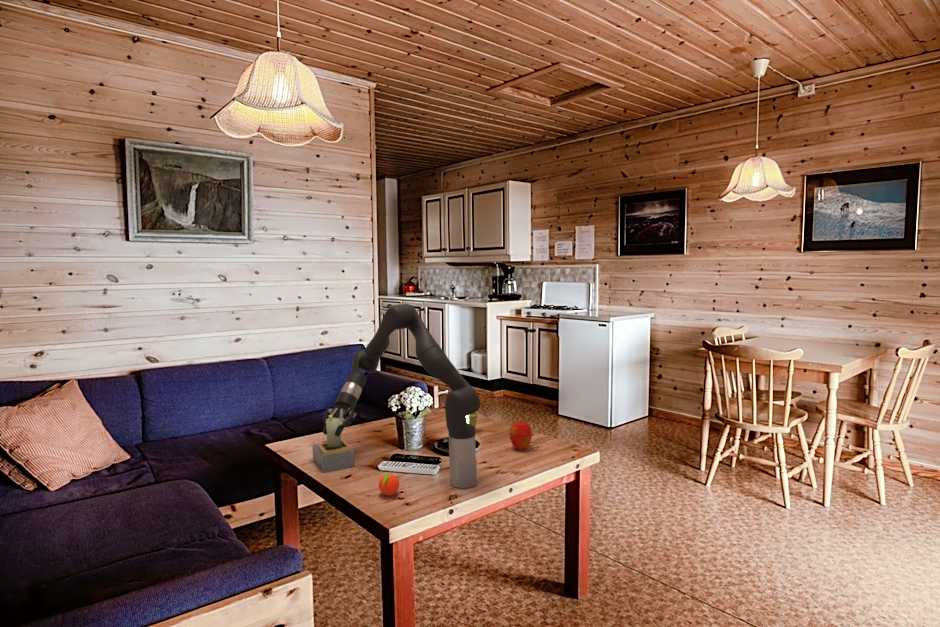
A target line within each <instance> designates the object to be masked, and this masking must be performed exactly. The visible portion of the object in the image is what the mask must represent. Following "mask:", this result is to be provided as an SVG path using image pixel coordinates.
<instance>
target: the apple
mask: <svg viewBox="0 0 940 627" xmlns="http://www.w3.org/2000/svg"><path fill="white" fill-rule="evenodd" d="M508 432H509V433H508V434H509V439H510V442H511V445H512V446H513V447H514V448H515V449H516V450H518V451H524V450H526V448H528V447H529V445H530V443H531V441H532V437H533V435H532V434H533V431H532V429H531V425H530V424H529V423H528V422H525V421H521V420H520V421H519V420H518V421H515V422H514V423H513V424H511V425H510V428H509V431H508Z"/></svg>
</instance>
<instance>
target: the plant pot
mask: <svg viewBox="0 0 940 627" xmlns="http://www.w3.org/2000/svg"><path fill="white" fill-rule="evenodd" d="M478 417H479V412H478V411H477V412H475V413H472V414H470V424H471V425H473V426H474V427H475V429H476V427H477V420H478Z"/></svg>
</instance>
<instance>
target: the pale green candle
mask: <svg viewBox="0 0 940 627" xmlns="http://www.w3.org/2000/svg"><path fill="white" fill-rule="evenodd" d="M325 424H326V430H327V435H326V442H327V446H328V447H338V446H340V445H341V440H342V434H341V435H339V437H337V436H336V435H335V432H336V429H337V427H338V425H339V424H340V419H339V418H336V417H333V418H332V415H329V418H328V419H326V423H325ZM339 426H340V425H339Z"/></svg>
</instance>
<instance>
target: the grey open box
mask: <svg viewBox="0 0 940 627" xmlns="http://www.w3.org/2000/svg"><path fill="white" fill-rule="evenodd" d="M311 449H312V460H313V461H314V463H315V464H316V465H317V467H318V468H319V469H320V471H321V472H322V473H323V474H325V473H329V472H333V471H339V470H344V469H349V468H354V467H356V463H355V461H356V460H355V450H354V449H352V447H351V446H350V445H349V444H348V443H347V442H346V441H345V440H344V439H341V445H340V446H338V447H328V446H327V441H326V442H321V443H315V444H314V443H313V444H312V447H311Z"/></svg>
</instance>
